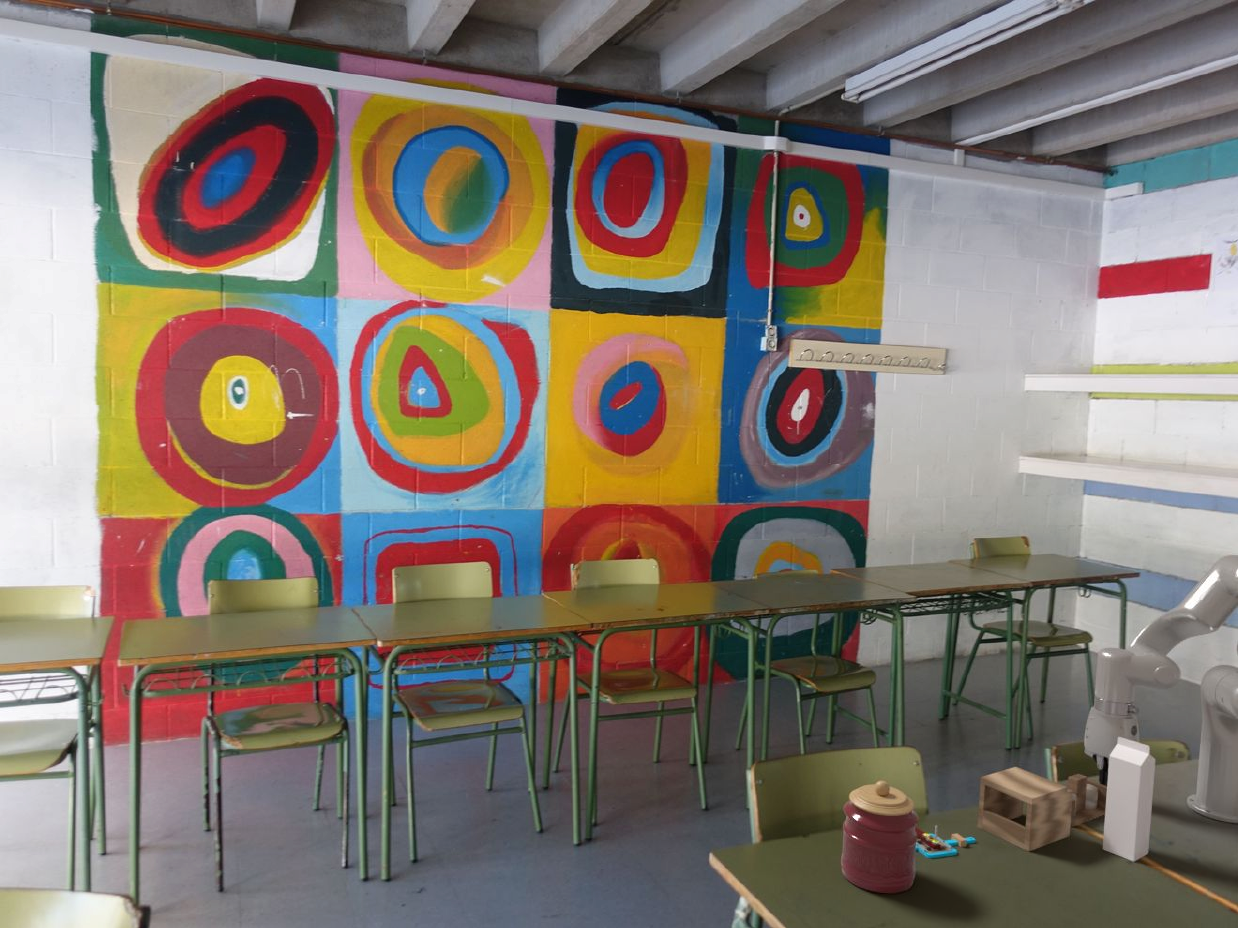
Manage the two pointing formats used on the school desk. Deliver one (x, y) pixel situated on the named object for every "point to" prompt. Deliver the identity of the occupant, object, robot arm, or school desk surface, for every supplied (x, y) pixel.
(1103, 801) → the caddy
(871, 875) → the canister
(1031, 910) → the school desk surface
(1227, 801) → the robot arm
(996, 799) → the shelf
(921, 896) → the school desk surface
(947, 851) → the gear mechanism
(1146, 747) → the milk
